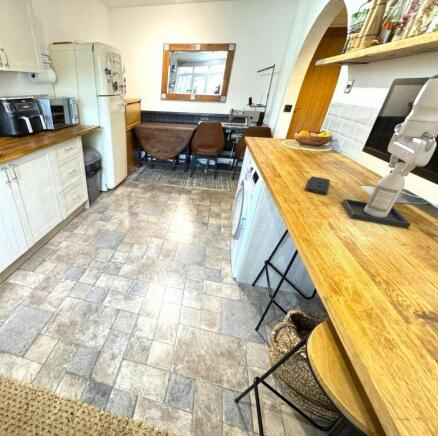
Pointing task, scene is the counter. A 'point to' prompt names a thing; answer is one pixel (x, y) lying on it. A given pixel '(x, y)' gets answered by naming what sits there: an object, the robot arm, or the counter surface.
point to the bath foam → (386, 193)
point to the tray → (357, 212)
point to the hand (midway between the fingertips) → (396, 171)
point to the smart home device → (318, 185)
